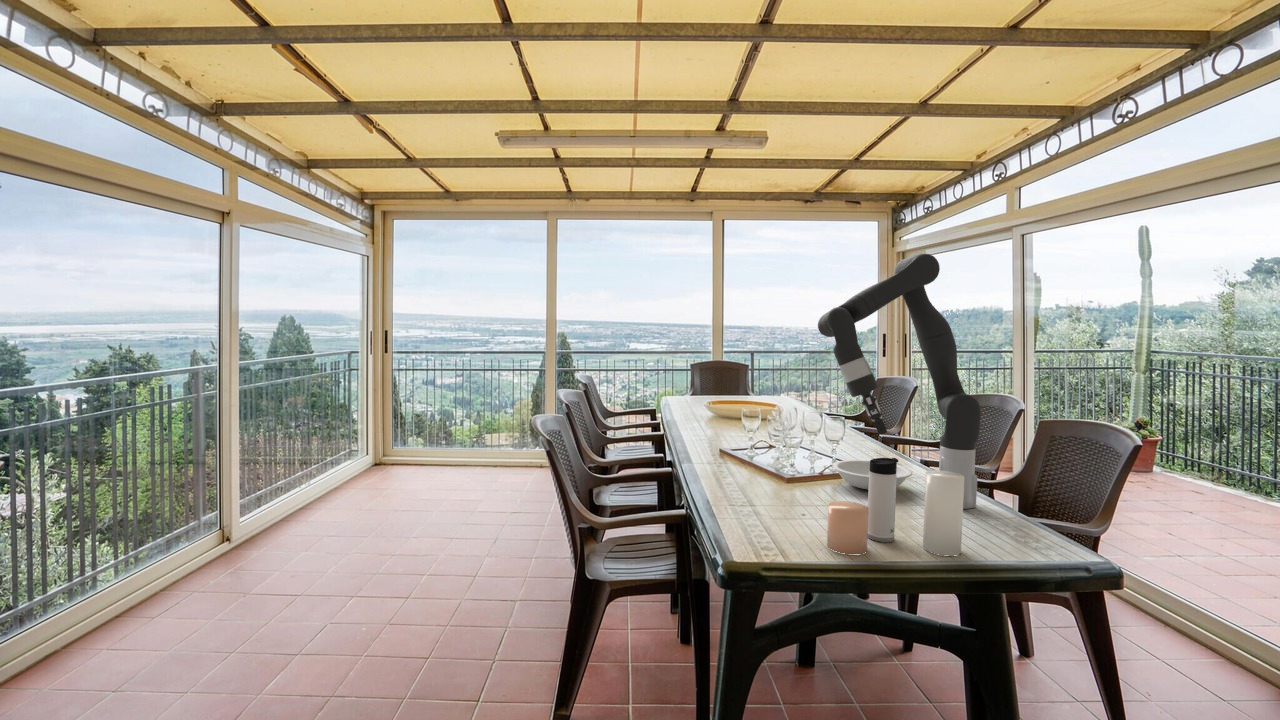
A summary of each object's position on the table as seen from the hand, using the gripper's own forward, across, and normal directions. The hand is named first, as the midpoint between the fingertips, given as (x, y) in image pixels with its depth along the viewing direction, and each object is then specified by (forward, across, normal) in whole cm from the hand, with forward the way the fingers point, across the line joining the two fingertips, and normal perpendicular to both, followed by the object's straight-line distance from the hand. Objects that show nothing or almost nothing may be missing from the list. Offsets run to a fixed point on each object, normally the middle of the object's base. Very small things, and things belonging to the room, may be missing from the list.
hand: (882, 432), depth 160 cm
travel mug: (+23, -15, +10) cm, 29 cm away
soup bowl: (+19, +33, +10) cm, 39 cm away
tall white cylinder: (+28, -18, -1) cm, 33 cm away
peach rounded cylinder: (+20, -25, +18) cm, 37 cm away
